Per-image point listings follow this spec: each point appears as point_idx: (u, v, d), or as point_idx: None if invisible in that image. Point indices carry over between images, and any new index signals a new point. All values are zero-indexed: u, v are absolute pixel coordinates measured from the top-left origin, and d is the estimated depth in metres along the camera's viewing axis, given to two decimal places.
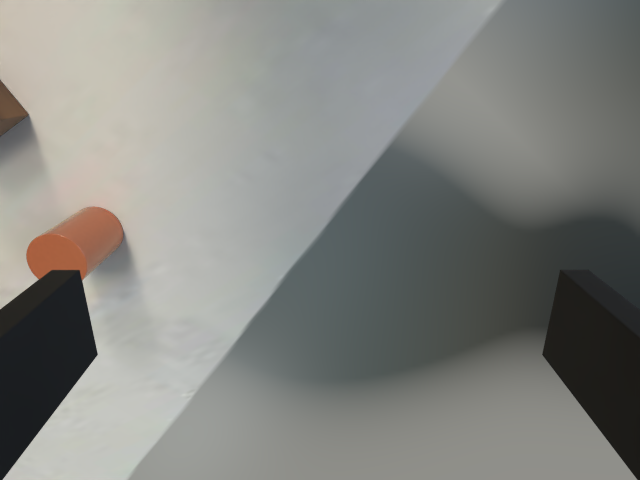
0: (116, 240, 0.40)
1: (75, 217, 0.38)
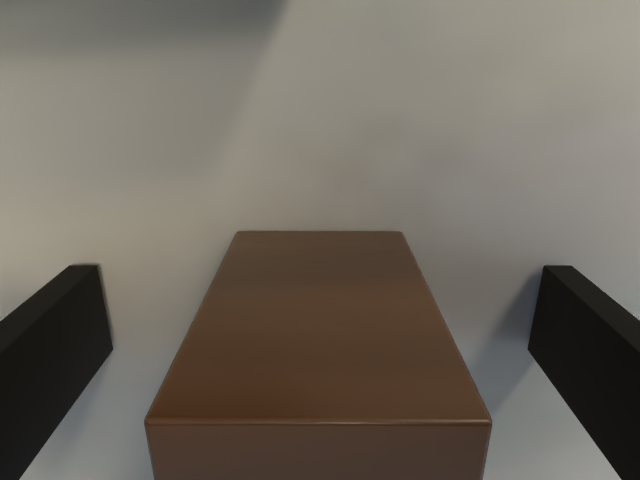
0: None
1: None
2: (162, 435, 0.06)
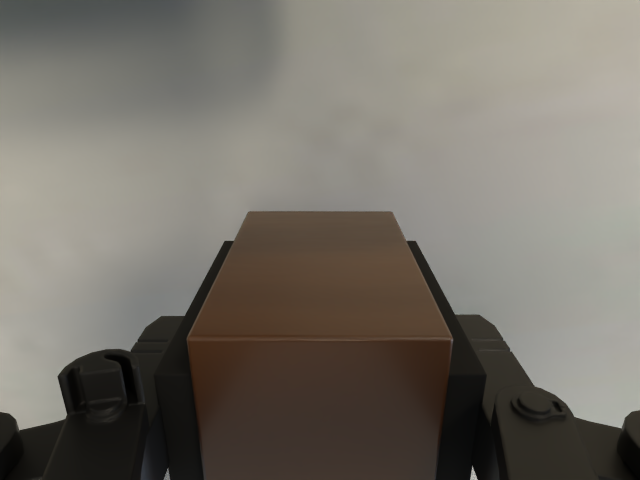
0: None
1: None
2: (200, 350, 0.08)
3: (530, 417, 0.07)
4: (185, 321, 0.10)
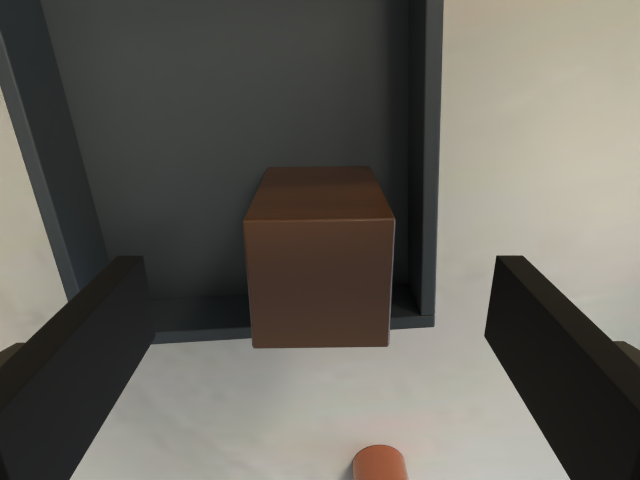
0: None
1: (398, 478, 0.36)
2: (250, 228, 0.13)
3: None
4: (18, 353, 0.09)
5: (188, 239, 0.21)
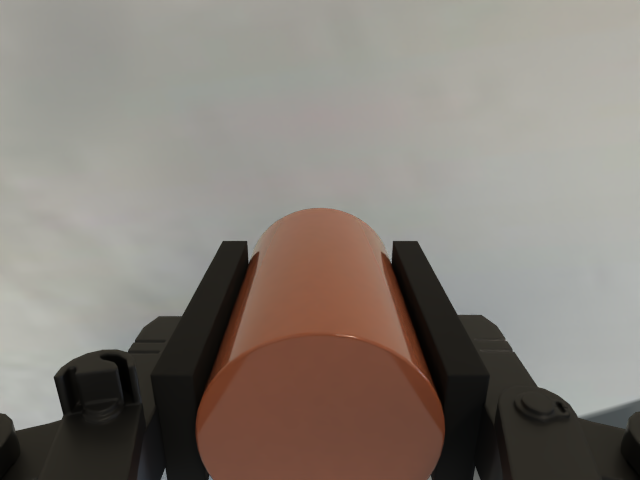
0: None
1: (366, 255, 0.11)
2: None
3: (534, 417, 0.07)
4: (182, 321, 0.10)
5: None
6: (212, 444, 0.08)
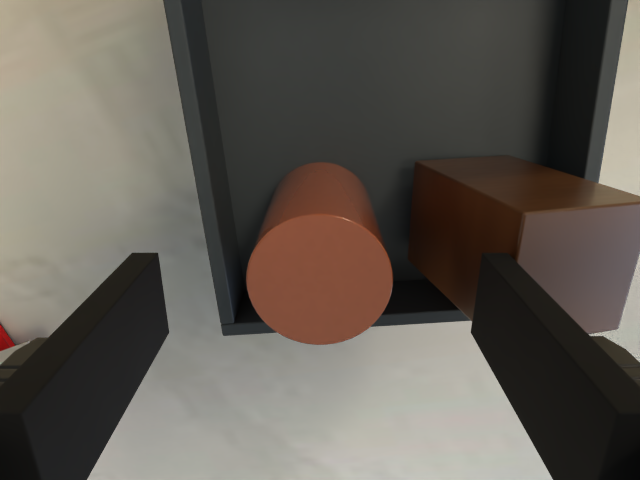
0: None
1: (350, 187, 0.17)
2: (529, 220, 0.13)
3: None
4: (42, 347, 0.09)
5: None
6: (256, 286, 0.14)
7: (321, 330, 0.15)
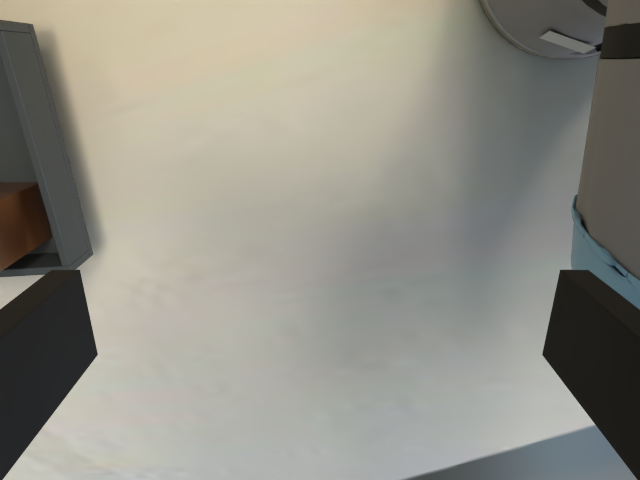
0: None
1: None
2: None
3: None
4: None
5: None
6: None
7: None
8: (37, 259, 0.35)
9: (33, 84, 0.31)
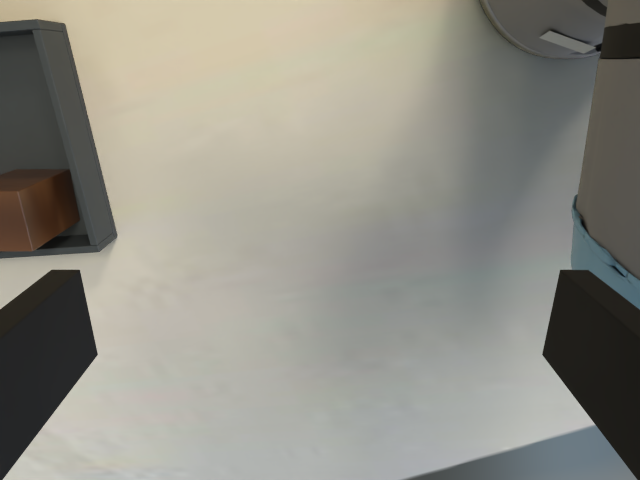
0: None
1: None
2: None
3: None
4: None
5: None
6: None
7: None
8: (66, 240, 0.38)
9: (65, 78, 0.34)
